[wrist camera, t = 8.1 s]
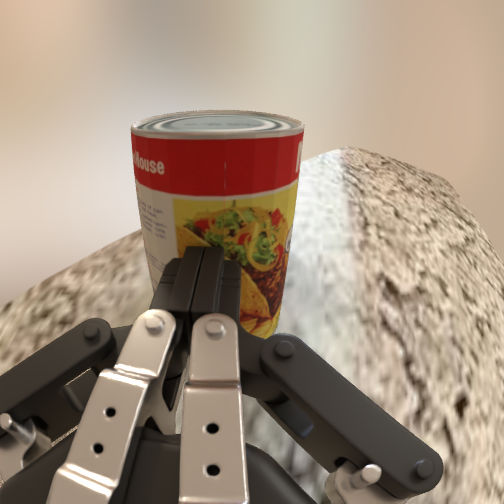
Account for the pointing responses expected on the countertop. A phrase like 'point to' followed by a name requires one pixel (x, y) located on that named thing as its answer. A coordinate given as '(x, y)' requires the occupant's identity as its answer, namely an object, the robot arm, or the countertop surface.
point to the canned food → (221, 197)
